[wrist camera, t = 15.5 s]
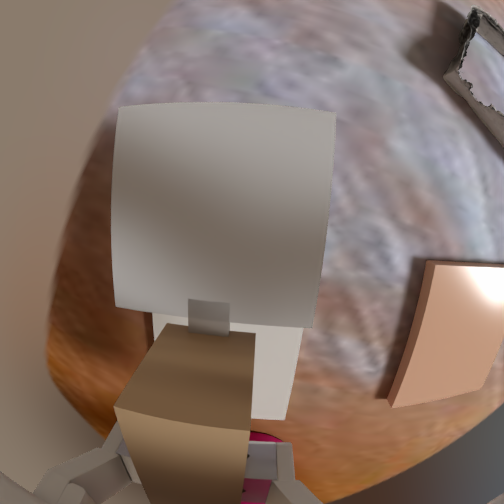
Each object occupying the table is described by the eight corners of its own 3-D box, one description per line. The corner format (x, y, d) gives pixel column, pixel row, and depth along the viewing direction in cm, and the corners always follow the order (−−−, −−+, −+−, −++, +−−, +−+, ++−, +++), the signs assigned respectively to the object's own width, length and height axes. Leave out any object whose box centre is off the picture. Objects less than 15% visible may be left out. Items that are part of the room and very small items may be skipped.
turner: (125, 109, 7) (37, 71, 3) (333, 116, 7) (391, 62, 3) (150, 456, 10) (127, 518, 7) (275, 473, 10) (276, 541, 6)
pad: (156, 179, 13) (151, 179, 13) (319, 190, 13) (322, 191, 13) (164, 400, 17) (162, 405, 16) (284, 413, 17) (284, 420, 16)
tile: (435, 264, 13) (523, 268, 13) (421, 257, 14) (510, 262, 14) (391, 408, 15) (481, 388, 15) (384, 393, 17) (472, 378, 17)
